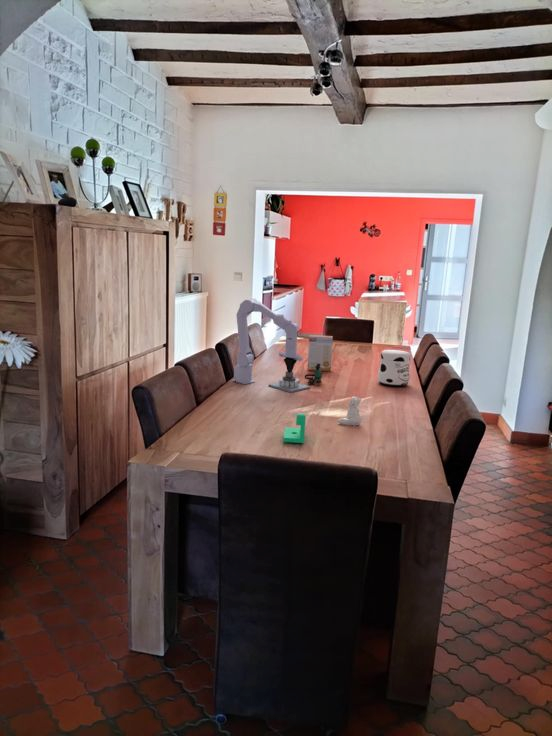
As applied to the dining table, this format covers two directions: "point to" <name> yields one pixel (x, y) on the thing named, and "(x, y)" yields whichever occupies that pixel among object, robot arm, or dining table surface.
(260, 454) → the dining table surface
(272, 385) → the mount plate
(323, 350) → the cracker box
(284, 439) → the camera mount
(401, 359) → the milk container
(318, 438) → the dining table surface
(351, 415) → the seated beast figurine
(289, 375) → the grey rounded knob
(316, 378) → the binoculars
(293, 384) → the segmented white ring
